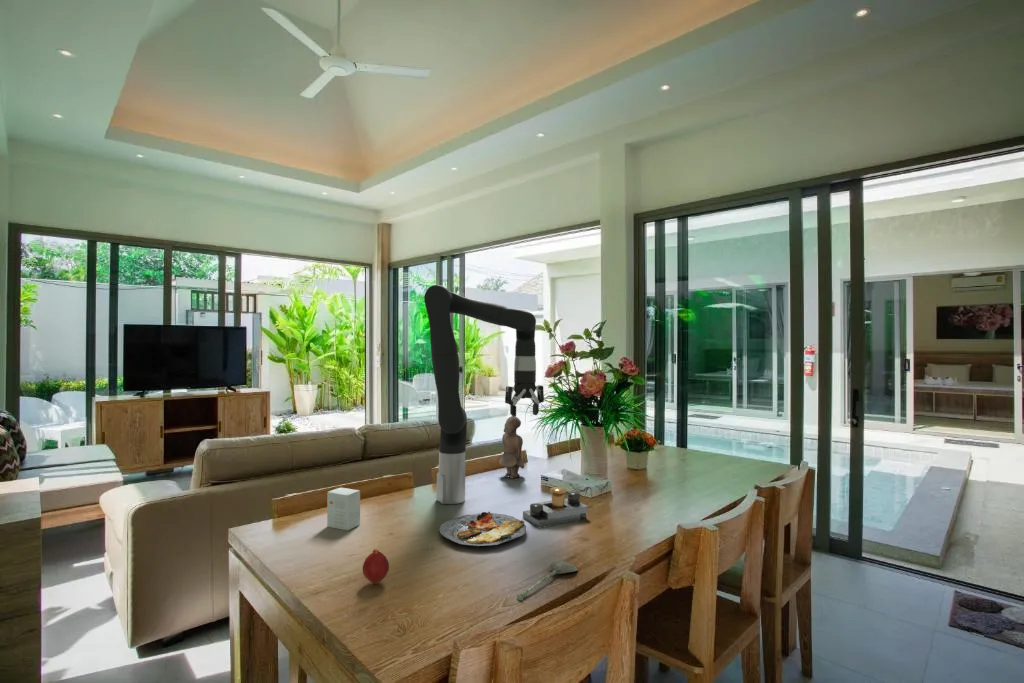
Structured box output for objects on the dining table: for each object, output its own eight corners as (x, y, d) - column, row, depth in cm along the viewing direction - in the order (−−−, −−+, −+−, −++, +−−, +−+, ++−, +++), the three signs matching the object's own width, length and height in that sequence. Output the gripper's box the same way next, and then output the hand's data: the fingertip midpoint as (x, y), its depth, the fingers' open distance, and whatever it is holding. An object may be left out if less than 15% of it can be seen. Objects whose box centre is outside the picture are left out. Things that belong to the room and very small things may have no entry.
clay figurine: (493, 475, 214) (494, 415, 215) (512, 471, 220) (513, 413, 220) (511, 482, 204) (512, 419, 204) (531, 478, 210) (532, 417, 210)
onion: (365, 578, 120) (365, 543, 120) (390, 577, 121) (390, 543, 121) (360, 589, 114) (360, 553, 114) (386, 589, 115) (386, 553, 115)
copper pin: (555, 521, 160) (555, 492, 160) (546, 516, 164) (547, 488, 164) (569, 519, 162) (569, 490, 162) (560, 514, 167) (560, 486, 167)
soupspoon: (583, 574, 126) (560, 568, 130) (583, 560, 126) (560, 554, 130) (531, 606, 109) (506, 598, 113) (531, 590, 109) (506, 582, 113)
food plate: (488, 513, 166) (488, 503, 166) (542, 534, 149) (542, 522, 149) (424, 535, 148) (424, 523, 148) (477, 561, 132) (477, 548, 132)
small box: (360, 525, 155) (360, 490, 155) (347, 531, 149) (347, 495, 150) (340, 521, 158) (340, 486, 158) (326, 526, 153) (326, 491, 153)
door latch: (539, 527, 154) (539, 504, 154) (522, 517, 163) (523, 495, 163) (587, 518, 163) (588, 496, 163) (569, 509, 172) (570, 488, 172)
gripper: (537, 368, 186) (536, 413, 186) (502, 368, 179) (501, 415, 179) (548, 369, 179) (547, 415, 179) (512, 370, 173) (511, 418, 173)
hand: (524, 415), depth 179 cm, fingers open, 8 cm apart
